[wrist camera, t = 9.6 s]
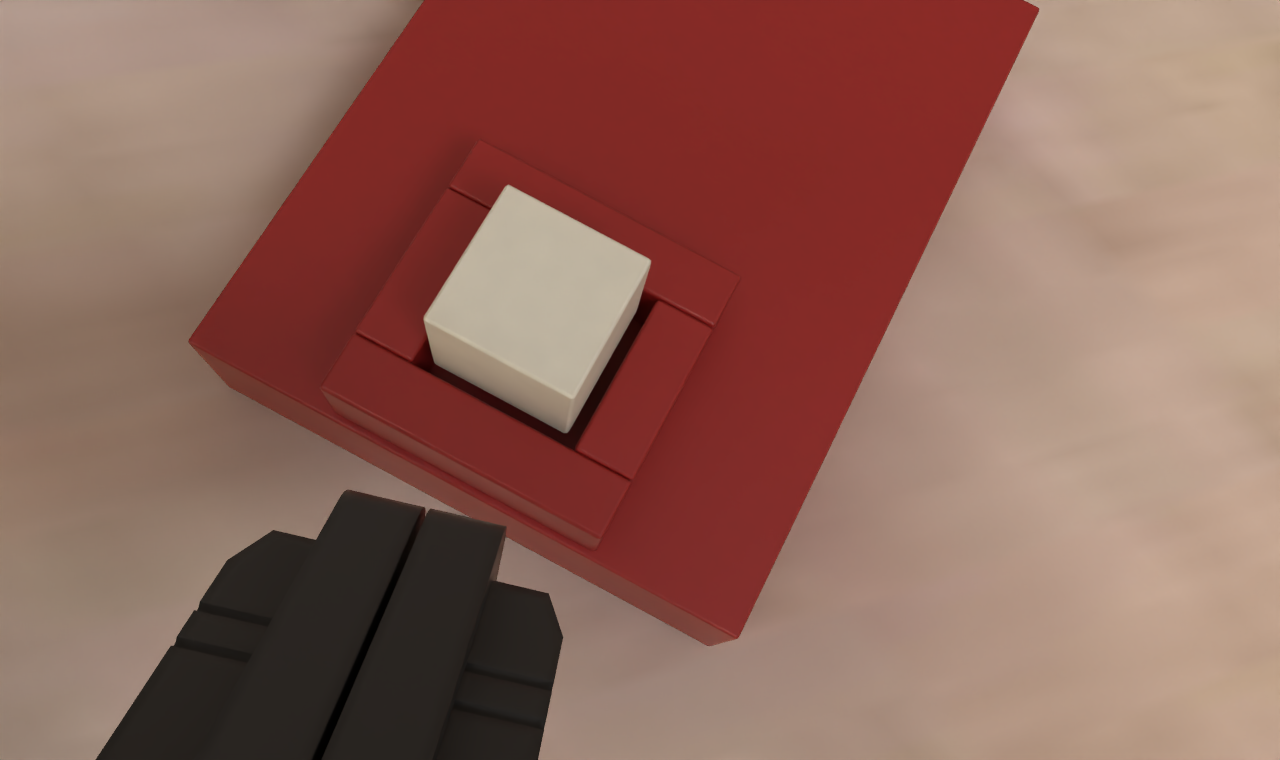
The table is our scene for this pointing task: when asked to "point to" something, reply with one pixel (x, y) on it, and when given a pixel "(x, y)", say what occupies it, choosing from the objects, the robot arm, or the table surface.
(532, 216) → the white cube
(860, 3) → the red push button box
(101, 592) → the table surface
